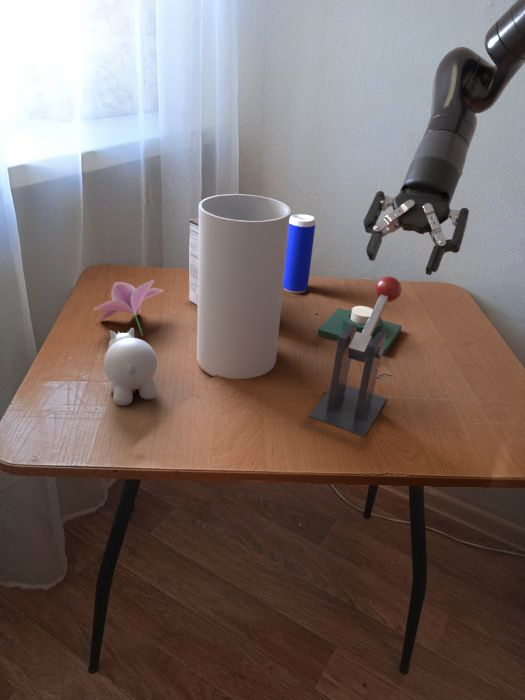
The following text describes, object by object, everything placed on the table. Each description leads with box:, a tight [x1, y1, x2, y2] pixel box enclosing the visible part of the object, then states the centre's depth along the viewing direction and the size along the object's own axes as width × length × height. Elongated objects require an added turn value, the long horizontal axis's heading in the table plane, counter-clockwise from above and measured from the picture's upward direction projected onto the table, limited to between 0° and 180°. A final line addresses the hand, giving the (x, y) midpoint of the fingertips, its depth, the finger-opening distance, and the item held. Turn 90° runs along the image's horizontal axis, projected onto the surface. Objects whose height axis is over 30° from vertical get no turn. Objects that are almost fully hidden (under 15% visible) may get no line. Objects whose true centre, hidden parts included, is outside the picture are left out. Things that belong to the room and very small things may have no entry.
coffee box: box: [188, 217, 199, 306], centre depth 103 cm, size 9×6×16 cm
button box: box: [317, 307, 402, 357], centre depth 98 cm, size 12×10×4 cm
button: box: [350, 305, 374, 325], centre depth 97 cm, size 4×4×2 cm
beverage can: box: [283, 213, 316, 294], centre depth 111 cm, size 5×5×15 cm
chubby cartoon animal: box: [103, 327, 159, 406], centre depth 80 cm, size 7×12×8 cm, turn 22°
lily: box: [92, 279, 165, 337], centre depth 95 cm, size 12×12×10 cm
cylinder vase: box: [196, 193, 291, 380], centre depth 83 cm, size 12×12×25 cm
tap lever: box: [349, 275, 402, 364], centre depth 77 cm, size 14×4×4 cm, turn 153°
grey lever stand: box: [308, 324, 387, 438], centre depth 76 cm, size 10×8×13 cm
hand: (399, 265), depth 81 cm, fingers open, 8 cm apart
